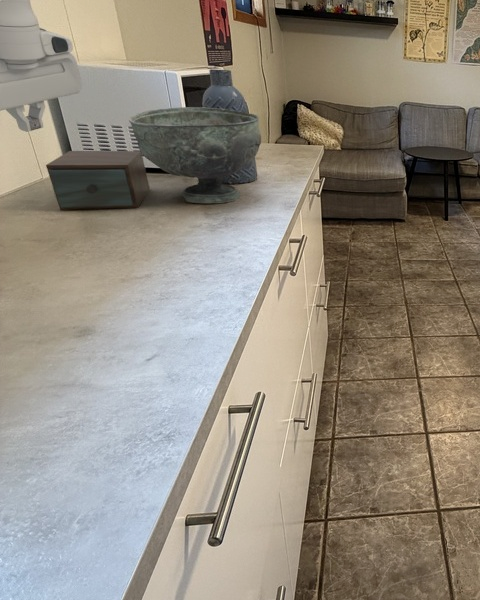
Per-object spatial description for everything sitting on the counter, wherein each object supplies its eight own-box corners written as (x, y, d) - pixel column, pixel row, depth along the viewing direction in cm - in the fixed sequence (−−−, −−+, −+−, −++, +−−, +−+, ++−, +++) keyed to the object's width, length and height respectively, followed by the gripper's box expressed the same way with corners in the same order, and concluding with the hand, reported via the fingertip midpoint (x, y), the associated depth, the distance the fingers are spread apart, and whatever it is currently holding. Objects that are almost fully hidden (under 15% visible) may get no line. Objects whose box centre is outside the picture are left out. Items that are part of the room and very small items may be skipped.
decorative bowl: (273, 182, 132) (262, 106, 122) (266, 211, 111) (252, 122, 101) (169, 186, 126) (148, 106, 116) (140, 217, 104) (112, 122, 95)
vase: (255, 184, 131) (241, 72, 118) (207, 184, 128) (188, 69, 115) (260, 174, 142) (248, 70, 129) (216, 173, 139) (200, 67, 126)
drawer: (131, 206, 104) (123, 171, 101) (58, 209, 100) (46, 172, 96) (144, 188, 117) (137, 156, 114) (80, 190, 113) (70, 156, 109)
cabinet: (138, 207, 107) (127, 164, 103) (60, 210, 102) (45, 165, 98) (150, 189, 120) (141, 151, 115) (81, 191, 115) (69, 150, 110)
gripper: (-46, 53, 64) (-12, 152, 72) (79, 39, 80) (96, 120, 88) (-89, 40, 64) (-50, 139, 72) (45, 28, 81) (64, 110, 89)
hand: (31, 128), depth 80 cm, fingers closed
